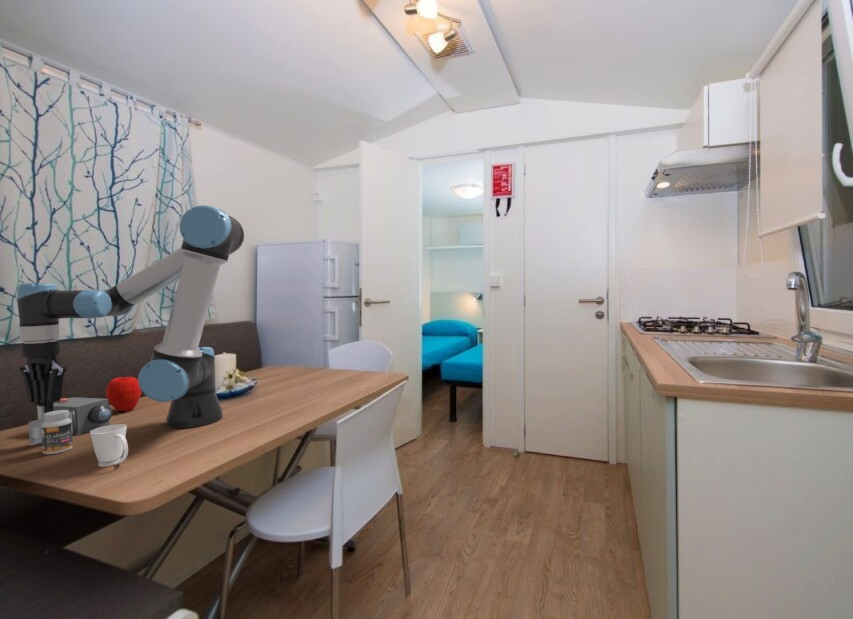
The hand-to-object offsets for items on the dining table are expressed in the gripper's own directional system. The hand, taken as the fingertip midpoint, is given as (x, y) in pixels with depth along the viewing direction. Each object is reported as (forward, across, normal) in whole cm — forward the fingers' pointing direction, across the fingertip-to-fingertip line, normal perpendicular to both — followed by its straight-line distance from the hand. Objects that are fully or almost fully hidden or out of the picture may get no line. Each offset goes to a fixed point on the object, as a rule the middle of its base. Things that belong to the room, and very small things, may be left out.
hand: (46, 428), depth 106 cm
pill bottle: (+4, -9, +4) cm, 11 cm away
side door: (+3, -1, -1) cm, 4 cm away
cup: (+3, -32, +8) cm, 33 cm away
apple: (+5, +8, -29) cm, 30 cm away
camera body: (+4, +4, -11) cm, 12 cm away
